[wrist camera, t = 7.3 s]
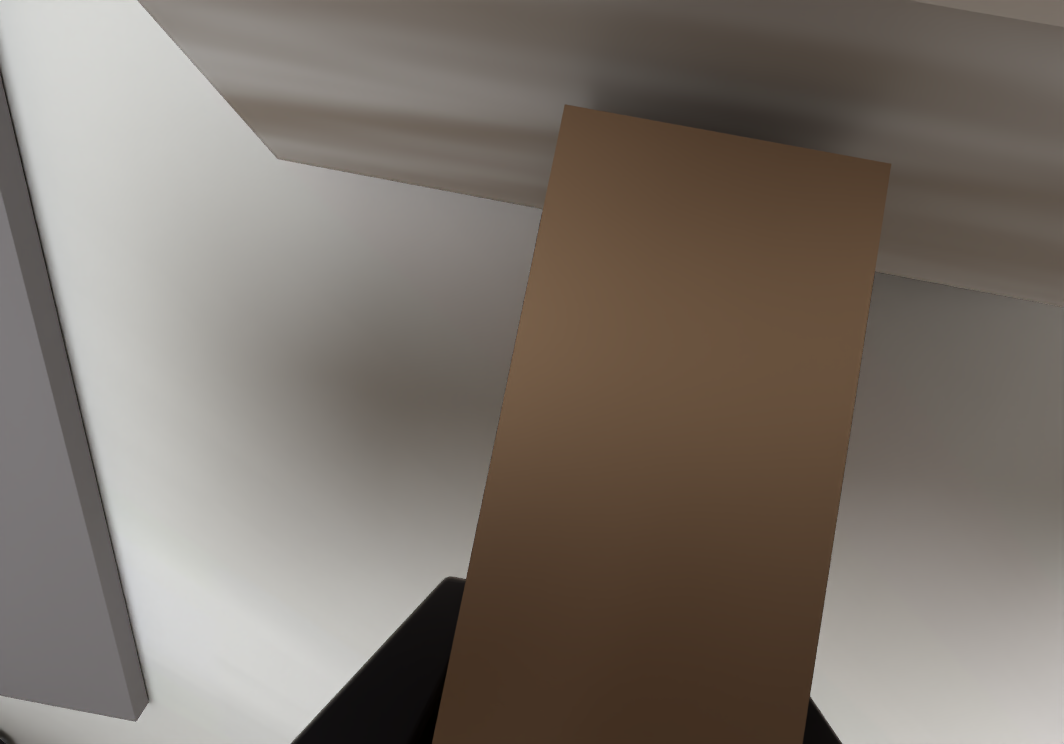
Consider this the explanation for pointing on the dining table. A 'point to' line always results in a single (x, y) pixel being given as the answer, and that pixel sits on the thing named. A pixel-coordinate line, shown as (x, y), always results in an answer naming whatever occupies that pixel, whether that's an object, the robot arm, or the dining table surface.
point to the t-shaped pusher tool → (672, 298)
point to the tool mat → (50, 497)
